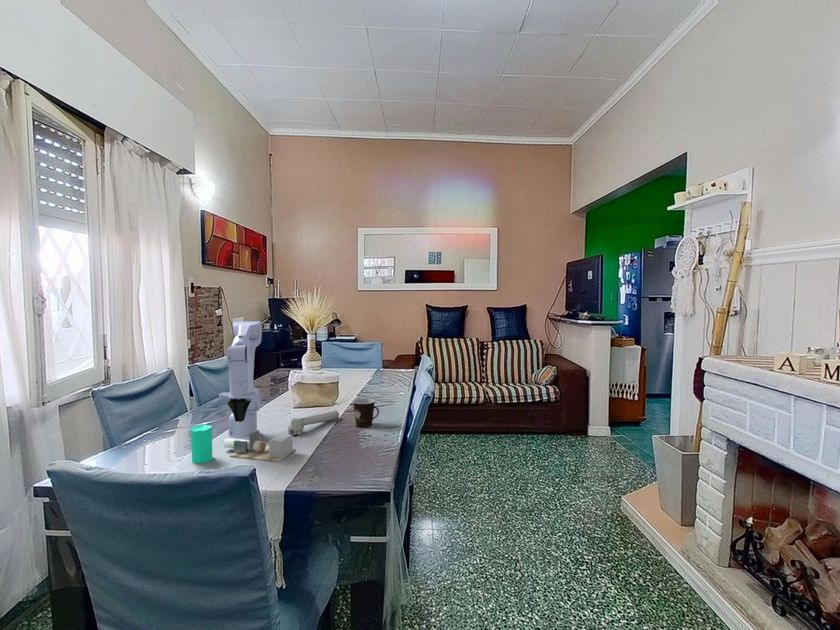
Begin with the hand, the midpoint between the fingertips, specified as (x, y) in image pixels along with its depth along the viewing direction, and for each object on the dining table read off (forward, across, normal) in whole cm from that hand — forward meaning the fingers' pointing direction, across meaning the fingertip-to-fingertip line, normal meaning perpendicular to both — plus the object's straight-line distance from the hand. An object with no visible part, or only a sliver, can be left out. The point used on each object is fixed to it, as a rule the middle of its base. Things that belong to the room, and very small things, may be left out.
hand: (239, 421), depth 137 cm
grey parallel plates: (+10, +2, 0) cm, 11 cm away
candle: (+11, -8, -9) cm, 16 cm away
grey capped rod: (+11, +12, +30) cm, 33 cm away
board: (+10, +8, 0) cm, 13 cm away
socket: (+10, +15, 0) cm, 19 cm away
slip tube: (+10, +2, 0) cm, 10 cm away
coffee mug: (+10, +32, +34) cm, 48 cm away
